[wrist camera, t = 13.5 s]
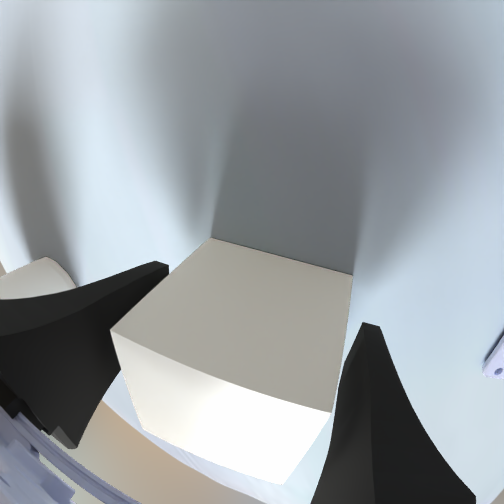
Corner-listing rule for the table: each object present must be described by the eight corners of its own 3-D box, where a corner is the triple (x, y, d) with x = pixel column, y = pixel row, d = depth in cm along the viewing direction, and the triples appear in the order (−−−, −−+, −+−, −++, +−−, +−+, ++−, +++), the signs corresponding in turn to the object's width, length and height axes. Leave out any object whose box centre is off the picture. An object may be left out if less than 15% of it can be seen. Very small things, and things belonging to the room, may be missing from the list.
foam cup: (22, 218, 18) (-106, 301, 7) (99, 275, 17) (-57, 412, 6) (36, 304, 23) (-55, 382, 12) (104, 360, 22) (9, 466, 11)
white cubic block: (352, 275, 11) (331, 413, 6) (316, 373, 14) (281, 484, 9) (209, 237, 13) (109, 329, 7) (206, 338, 16) (142, 429, 10)
